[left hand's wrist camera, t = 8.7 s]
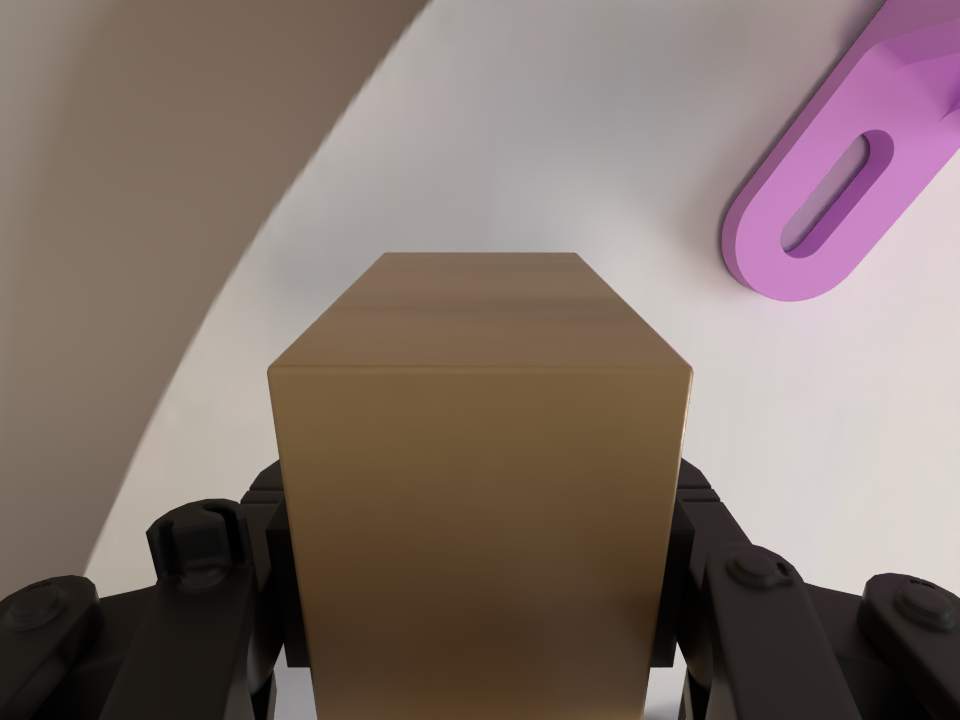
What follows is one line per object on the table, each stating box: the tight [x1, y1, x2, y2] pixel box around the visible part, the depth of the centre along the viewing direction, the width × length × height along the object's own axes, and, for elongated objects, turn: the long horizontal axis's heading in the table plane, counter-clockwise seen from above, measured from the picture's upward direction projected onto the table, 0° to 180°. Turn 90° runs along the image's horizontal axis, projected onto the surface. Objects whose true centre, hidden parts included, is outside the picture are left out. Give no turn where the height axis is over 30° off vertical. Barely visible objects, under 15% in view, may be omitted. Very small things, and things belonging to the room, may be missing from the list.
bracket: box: [722, 0, 960, 302], centre depth 19 cm, size 13×6×7 cm, turn 148°
